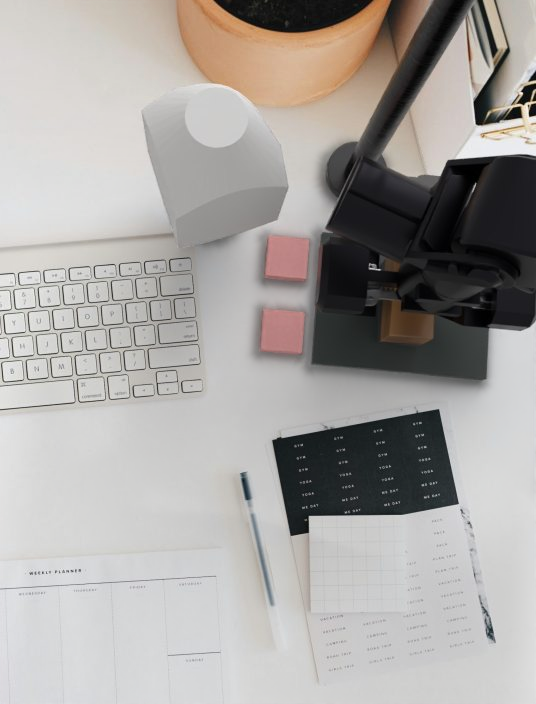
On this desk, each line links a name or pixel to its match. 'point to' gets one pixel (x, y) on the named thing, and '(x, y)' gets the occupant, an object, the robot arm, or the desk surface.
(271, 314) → the crumb
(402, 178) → the robot arm
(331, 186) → the desk lamp
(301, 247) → the crumb
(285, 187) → the light fixture
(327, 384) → the desk surface
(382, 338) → the brown block
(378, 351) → the slate
